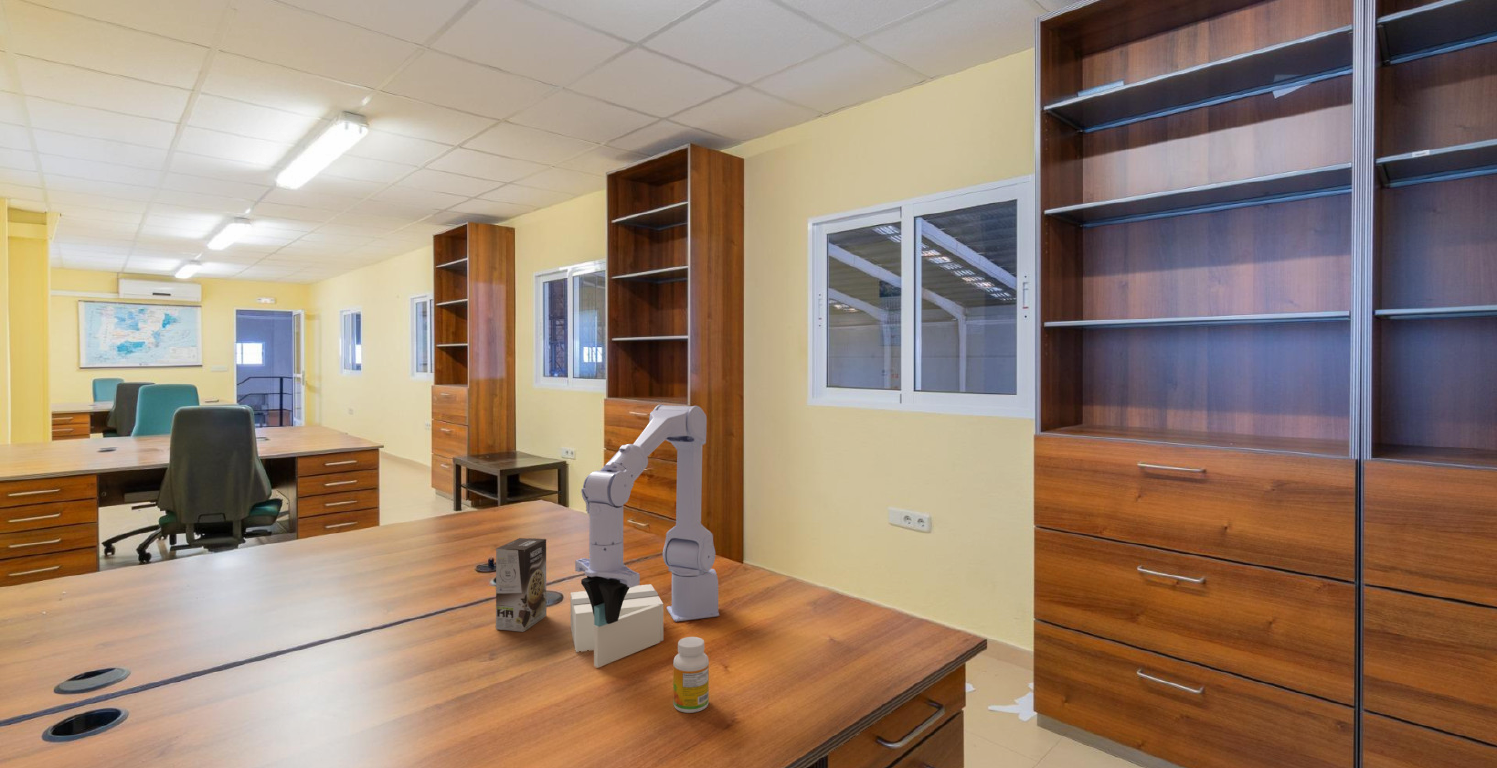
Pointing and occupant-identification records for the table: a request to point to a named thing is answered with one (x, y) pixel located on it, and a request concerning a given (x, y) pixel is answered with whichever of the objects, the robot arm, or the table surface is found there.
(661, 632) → the carton
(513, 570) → the coffee box
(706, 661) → the supplement bottle
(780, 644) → the table surface
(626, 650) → the green beige flat block
